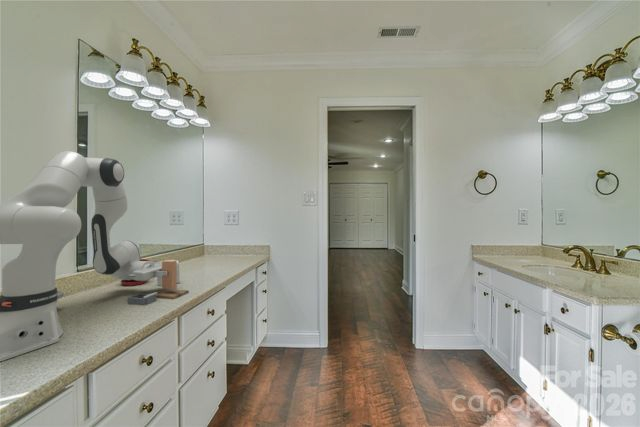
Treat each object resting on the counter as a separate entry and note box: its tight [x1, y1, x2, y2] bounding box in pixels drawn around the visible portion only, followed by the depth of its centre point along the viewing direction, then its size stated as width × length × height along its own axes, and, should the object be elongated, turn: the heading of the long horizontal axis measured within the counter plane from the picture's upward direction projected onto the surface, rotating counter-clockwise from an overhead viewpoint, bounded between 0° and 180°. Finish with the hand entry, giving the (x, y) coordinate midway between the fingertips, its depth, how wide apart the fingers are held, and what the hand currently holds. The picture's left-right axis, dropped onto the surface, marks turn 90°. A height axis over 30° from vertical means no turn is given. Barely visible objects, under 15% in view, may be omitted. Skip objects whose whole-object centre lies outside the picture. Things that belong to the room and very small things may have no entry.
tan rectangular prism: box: [161, 259, 178, 290], centre depth 132 cm, size 3×5×12 cm, turn 79°
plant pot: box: [120, 258, 150, 286], centre depth 153 cm, size 13×13×12 cm
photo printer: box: [156, 259, 181, 287], centre depth 151 cm, size 10×4×12 cm, turn 127°
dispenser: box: [127, 291, 158, 306], centre depth 122 cm, size 7×9×4 cm
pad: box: [156, 289, 190, 300], centre depth 132 cm, size 10×12×1 cm
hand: (171, 272), depth 131 cm, fingers closed on tan rectangular prism, 3 cm apart
